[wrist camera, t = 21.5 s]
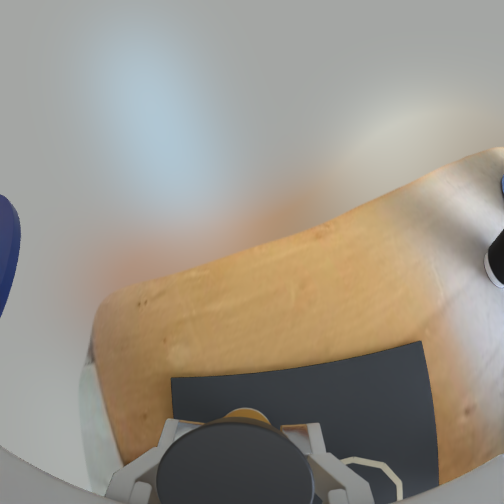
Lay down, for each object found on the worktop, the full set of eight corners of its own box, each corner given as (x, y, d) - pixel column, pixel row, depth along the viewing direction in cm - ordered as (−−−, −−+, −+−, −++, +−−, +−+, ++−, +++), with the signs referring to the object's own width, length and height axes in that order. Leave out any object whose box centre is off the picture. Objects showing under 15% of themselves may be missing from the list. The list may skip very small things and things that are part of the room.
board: (208, 595, 8) (207, 599, 8) (172, 378, 19) (170, 377, 18) (431, 545, 9) (435, 547, 9) (417, 341, 20) (422, 339, 20)
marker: (222, 454, 14) (166, 546, 3) (217, 408, 16) (146, 422, 5) (273, 449, 15) (320, 539, 3) (268, 404, 16) (307, 412, 5)
